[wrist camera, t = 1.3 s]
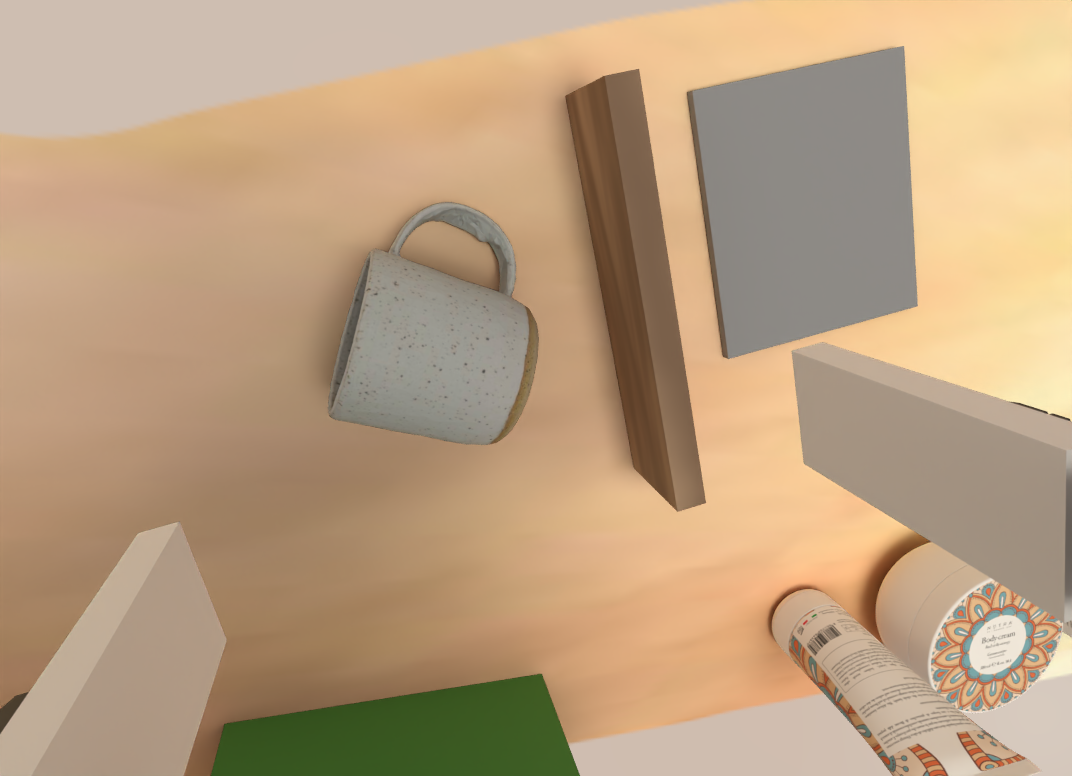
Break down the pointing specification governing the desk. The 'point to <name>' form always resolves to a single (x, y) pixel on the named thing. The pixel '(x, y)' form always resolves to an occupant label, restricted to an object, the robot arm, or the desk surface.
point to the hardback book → (409, 736)
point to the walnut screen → (636, 282)
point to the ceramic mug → (436, 343)
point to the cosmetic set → (925, 662)
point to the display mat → (807, 198)
